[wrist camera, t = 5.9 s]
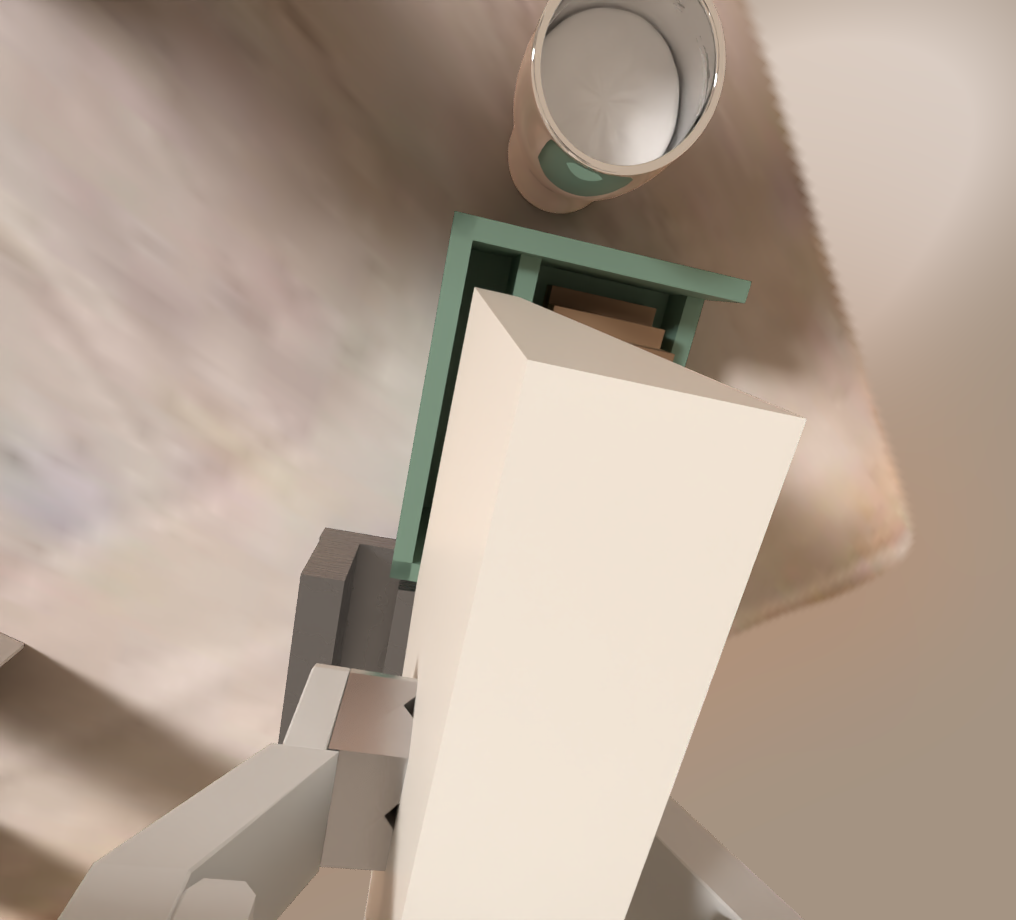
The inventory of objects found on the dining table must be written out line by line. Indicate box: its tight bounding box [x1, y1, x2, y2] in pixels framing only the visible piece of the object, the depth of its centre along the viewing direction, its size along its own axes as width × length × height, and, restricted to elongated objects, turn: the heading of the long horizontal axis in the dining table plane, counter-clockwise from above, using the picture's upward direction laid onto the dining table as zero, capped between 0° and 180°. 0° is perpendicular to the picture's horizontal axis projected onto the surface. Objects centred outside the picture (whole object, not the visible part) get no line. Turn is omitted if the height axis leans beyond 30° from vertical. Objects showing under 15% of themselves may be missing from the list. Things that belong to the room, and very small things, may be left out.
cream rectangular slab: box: [364, 287, 807, 920], centre depth 14 cm, size 12×2×19 cm, turn 168°
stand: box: [278, 528, 417, 744], centre depth 39 cm, size 12×8×6 cm, turn 168°
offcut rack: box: [389, 211, 751, 582], centre depth 34 cm, size 18×14×9 cm
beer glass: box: [508, 0, 726, 214], centre depth 27 cm, size 7×7×15 cm
